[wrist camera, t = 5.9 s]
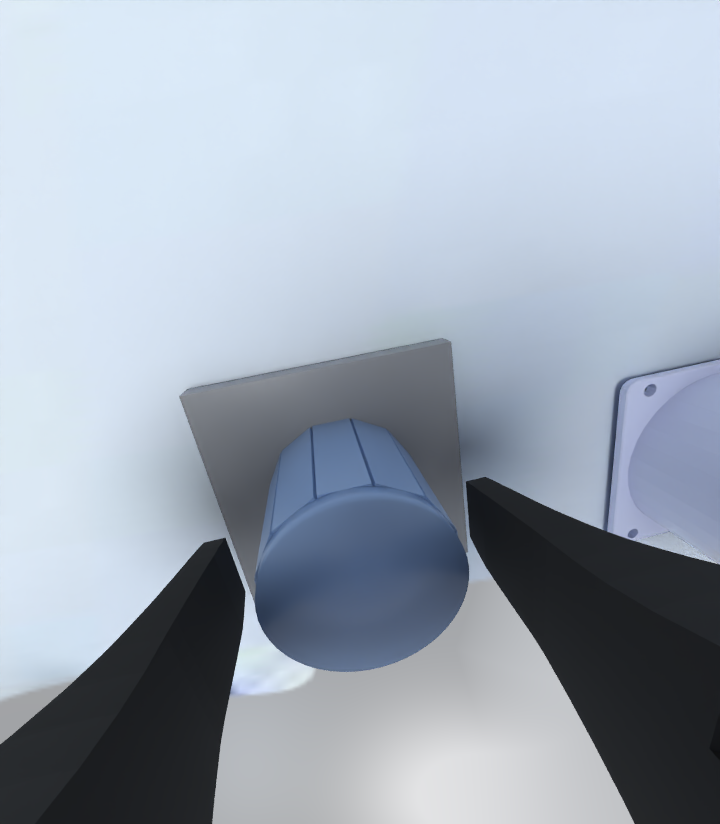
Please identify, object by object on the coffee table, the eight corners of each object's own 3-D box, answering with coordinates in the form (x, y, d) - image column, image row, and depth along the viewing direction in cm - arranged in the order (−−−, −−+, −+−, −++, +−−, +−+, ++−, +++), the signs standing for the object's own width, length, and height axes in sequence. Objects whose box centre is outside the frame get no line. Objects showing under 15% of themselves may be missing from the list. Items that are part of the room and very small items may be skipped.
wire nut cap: (403, 406, 13) (461, 477, 8) (419, 527, 14) (474, 642, 10) (255, 437, 12) (226, 532, 8) (290, 557, 14) (284, 693, 9)
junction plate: (442, 338, 13) (495, 359, 9) (459, 539, 16) (504, 612, 12) (187, 389, 12) (139, 432, 9) (257, 589, 15) (244, 681, 12)
